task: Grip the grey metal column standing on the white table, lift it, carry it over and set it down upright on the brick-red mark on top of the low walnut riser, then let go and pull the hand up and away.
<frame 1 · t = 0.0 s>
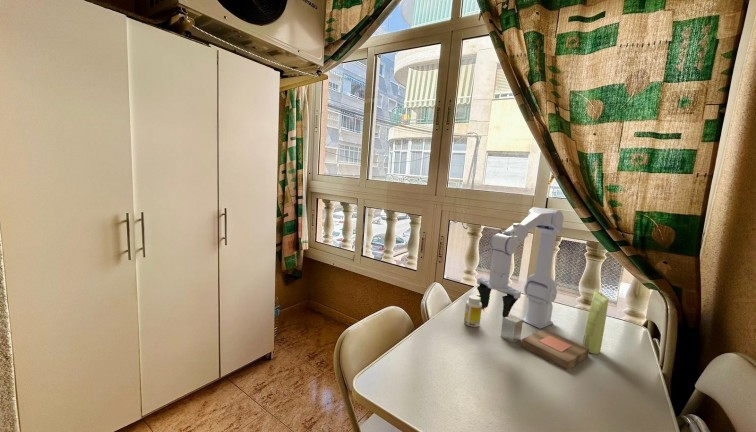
hand: (494, 311, 102), 10 cm above the table, tool pointing down, fingers open, 7 cm apart
walnut riser: (553, 351, 99), on the table
tube: (590, 351, 101), on the table
steel column: (510, 337, 106), on the table
supplement bottle: (471, 324, 114), on the table
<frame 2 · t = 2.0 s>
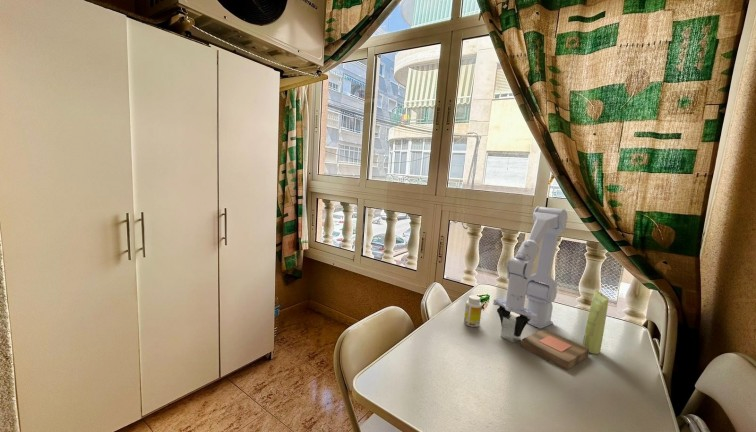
hand: (511, 332, 106), 2 cm above the table, tool pointing down, fingers closed on steel column, 4 cm apart
steel column: (510, 337, 106), on the table, touching gripper
everything else where it was.
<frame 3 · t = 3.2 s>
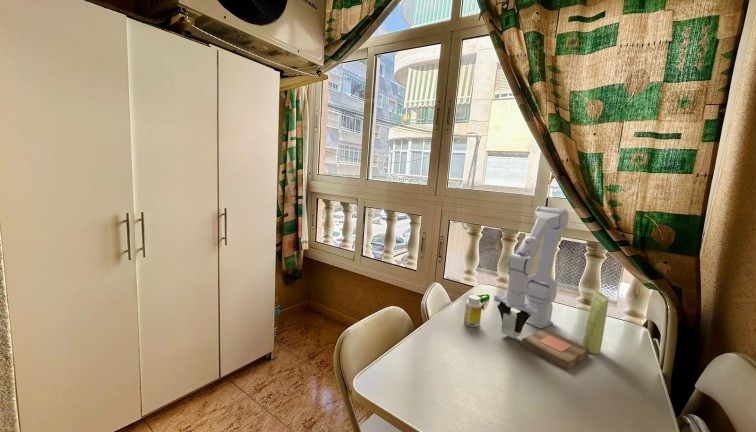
hand: (511, 328, 106), 3 cm above the table, tool pointing down, fingers closed on steel column, 4 cm apart
steel column: (510, 333, 106), point 1 cm above the table, touching gripper
everything else where it was.
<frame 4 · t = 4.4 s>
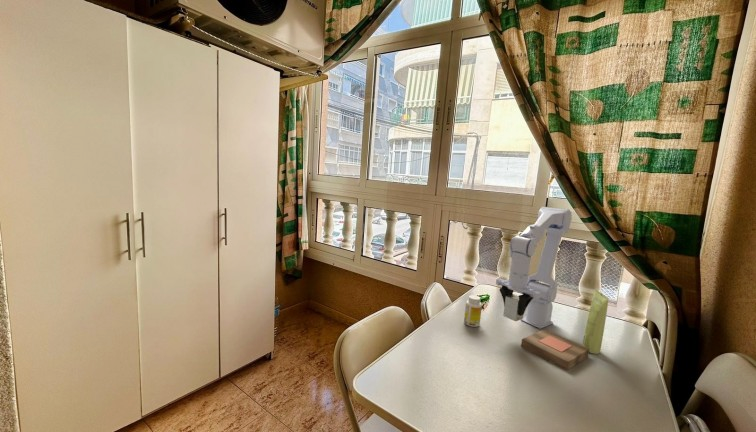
hand: (513, 311, 105), 9 cm above the table, tool pointing down, fingers closed on steel column, 4 cm apart
steel column: (513, 317, 105), point 7 cm above the table, touching gripper
everything else where it was.
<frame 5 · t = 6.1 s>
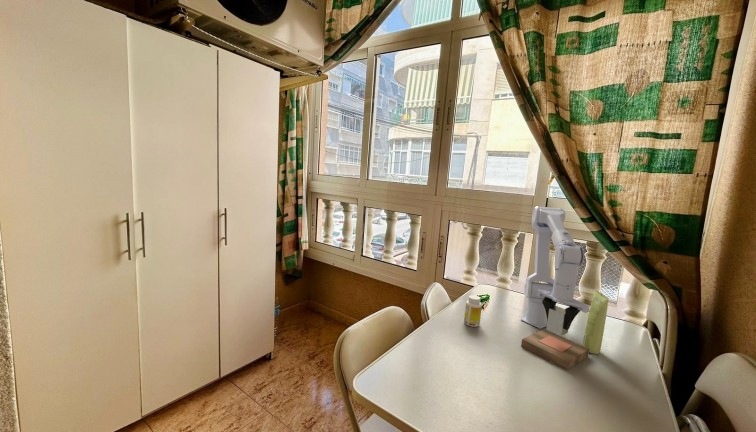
hand: (557, 325, 98), 9 cm above the table, tool pointing down, fingers closed on steel column, 4 cm apart
steel column: (557, 331, 98), point 7 cm above the table, touching gripper
everything else where it was.
when the fingers open (6 cm above the table, at t = 7.2 s): steel column stays where it is, resting on walnut riser.
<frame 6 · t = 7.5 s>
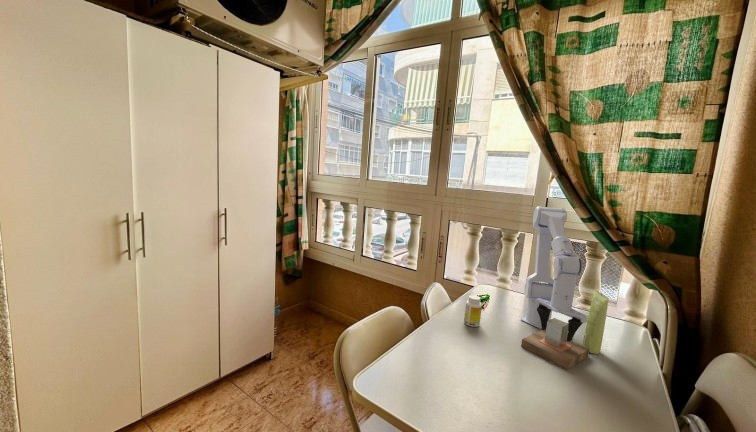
hand: (556, 334, 98), 6 cm above the table, tool pointing down, fingers open, 7 cm apart
steel column: (555, 343, 99), point 3 cm above the table, touching walnut riser
everything else where it was.
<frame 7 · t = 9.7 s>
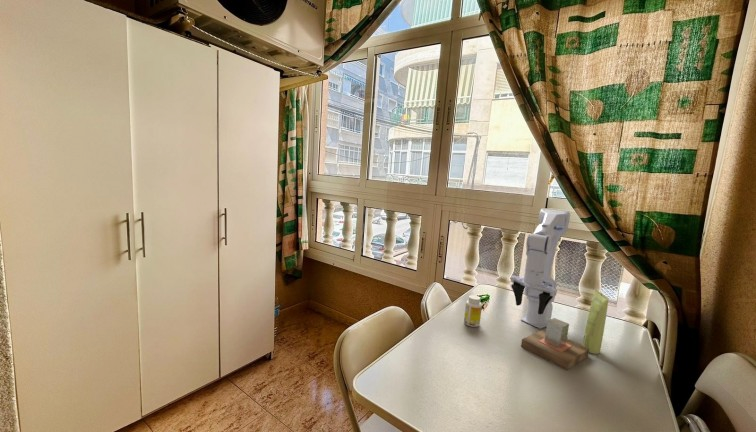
hand: (529, 309, 105), 10 cm above the table, tool pointing down, fingers open, 7 cm apart
nothing on the table moved.
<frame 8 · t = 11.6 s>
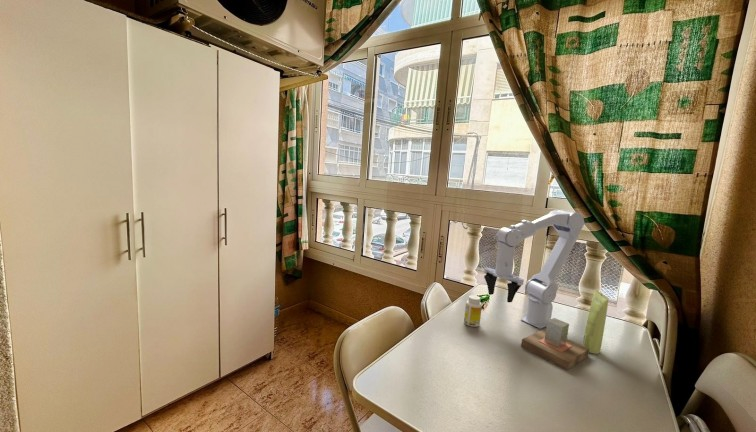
hand: (500, 297, 113), 10 cm above the table, tool pointing down, fingers open, 7 cm apart
nothing on the table moved.
at the end: steel column inside the target area on the walnut riser (0.0 cm from its centre), point 2.7 cm above the walnut riser's base; steel column tilted 0°; the gripper is holding nothing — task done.
